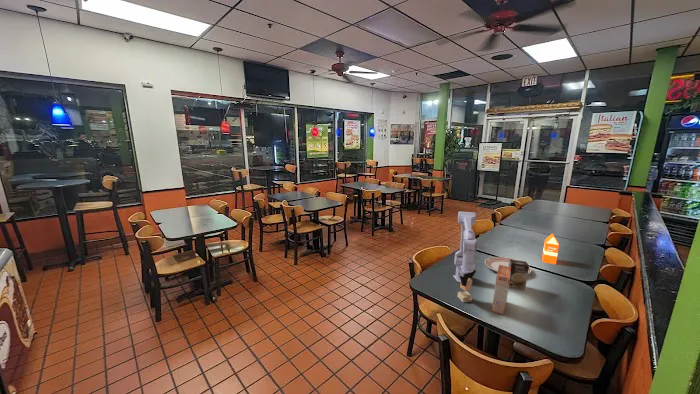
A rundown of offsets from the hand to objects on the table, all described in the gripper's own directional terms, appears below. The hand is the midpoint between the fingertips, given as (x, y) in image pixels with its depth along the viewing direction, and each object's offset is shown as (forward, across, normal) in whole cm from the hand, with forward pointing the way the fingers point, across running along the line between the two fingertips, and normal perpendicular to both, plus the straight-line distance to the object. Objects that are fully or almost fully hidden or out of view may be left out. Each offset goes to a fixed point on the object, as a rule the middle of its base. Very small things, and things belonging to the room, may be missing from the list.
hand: (466, 283), depth 147 cm
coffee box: (+10, -34, +15) cm, 39 cm away
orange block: (+3, 0, 0) cm, 3 cm away
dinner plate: (+10, -55, +4) cm, 56 cm away
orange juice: (+10, -91, +20) cm, 94 cm away
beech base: (+10, 0, 0) cm, 10 cm away
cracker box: (+10, -7, +16) cm, 20 cm away
